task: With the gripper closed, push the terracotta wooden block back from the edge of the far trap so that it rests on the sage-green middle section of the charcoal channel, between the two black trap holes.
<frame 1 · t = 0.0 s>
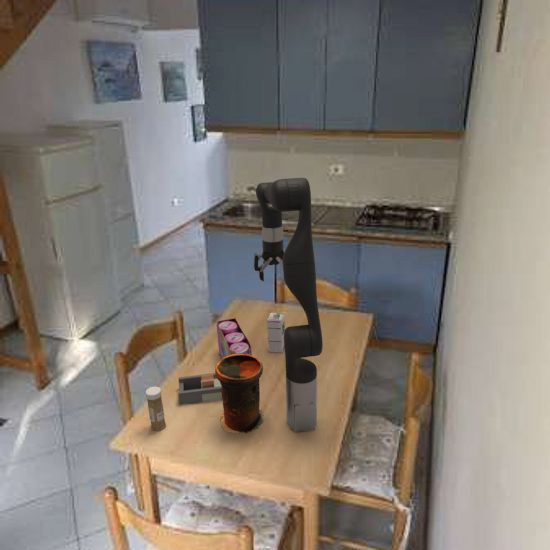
hand: (273, 279, 183), 29 cm above the table, tool pointing down, fingers open, 8 cm apart
sprinkles bottle: (158, 426, 153), on the table
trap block: (208, 385, 167), point 3 cm above the table, touching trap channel
gum box: (235, 365, 183), on the table, touching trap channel
syrup box: (276, 349, 193), on the table
vessel: (242, 419, 155), on the table
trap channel: (213, 392, 168), on the table
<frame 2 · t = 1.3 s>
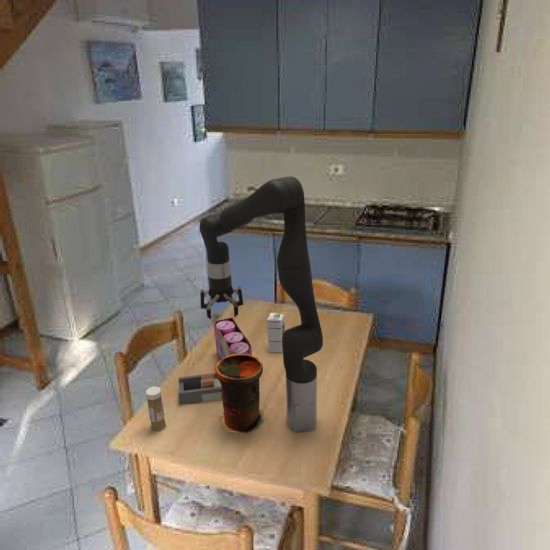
hand: (222, 317, 169), 23 cm above the table, tool pointing down, fingers open, 8 cm apart
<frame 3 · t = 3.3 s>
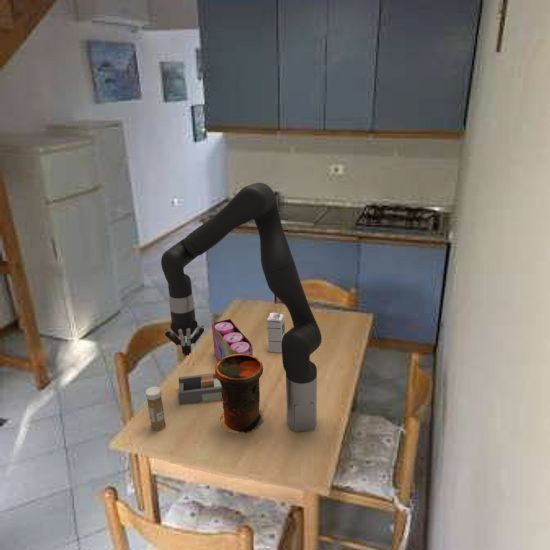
hand: (187, 354, 161), 16 cm above the table, tool pointing down, fingers closed
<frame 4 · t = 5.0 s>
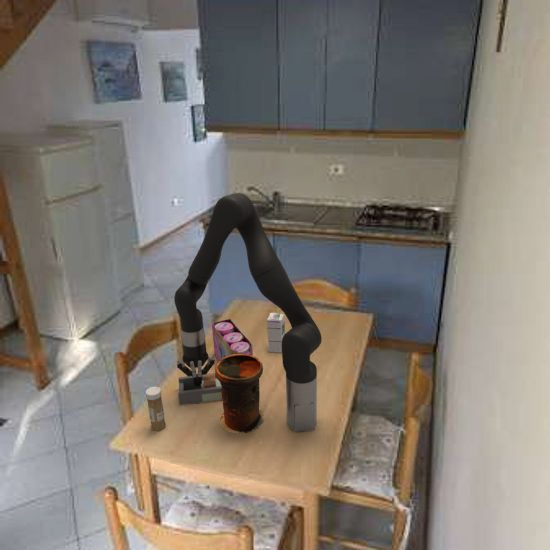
hand: (198, 384, 166), 4 cm above the table, tool pointing down, fingers closed
nothing on the table moved.
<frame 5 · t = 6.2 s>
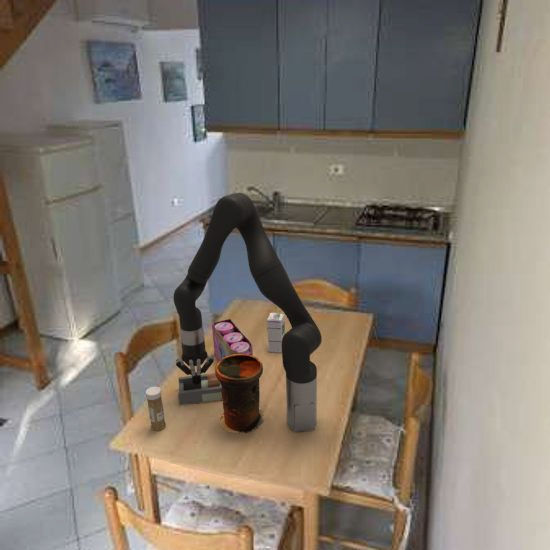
hand: (197, 383, 166), 4 cm above the table, tool pointing down, fingers closed
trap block: (214, 384, 167), point 3 cm above the table, touching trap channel
everything else where it was.
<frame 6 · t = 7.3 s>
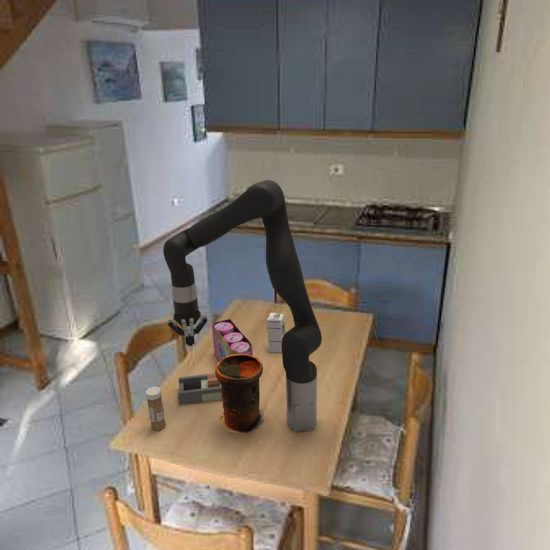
hand: (190, 344, 160), 19 cm above the table, tool pointing down, fingers closed
nothing on the table moved.
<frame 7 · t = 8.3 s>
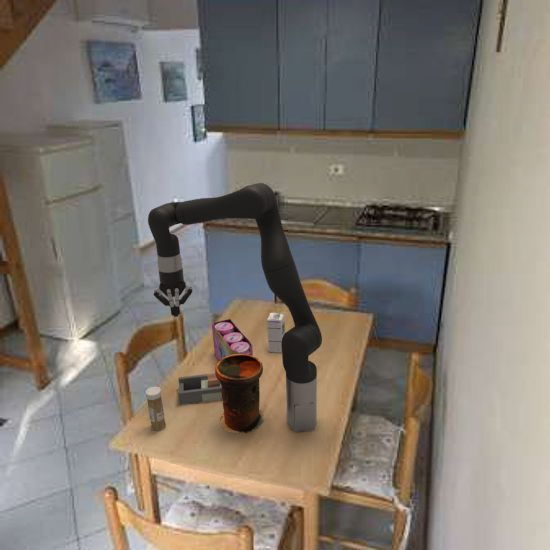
hand: (176, 315, 163), 27 cm above the table, tool pointing down, fingers closed
nothing on the table moved.
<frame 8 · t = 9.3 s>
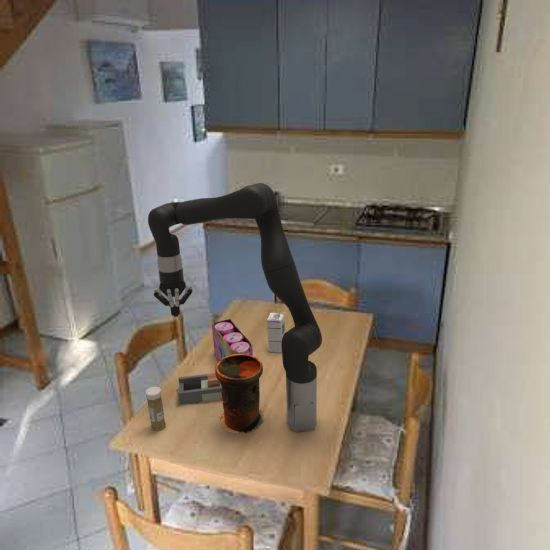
hand: (176, 315, 163), 27 cm above the table, tool pointing down, fingers closed
nothing on the table moved.
at the end: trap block 0.5 cm off-centre on the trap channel, point 3.0 cm above the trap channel's base; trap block tilted 0°; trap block moved 2.0 cm from its start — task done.
